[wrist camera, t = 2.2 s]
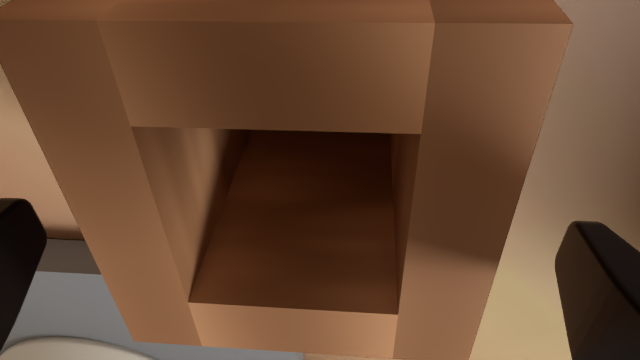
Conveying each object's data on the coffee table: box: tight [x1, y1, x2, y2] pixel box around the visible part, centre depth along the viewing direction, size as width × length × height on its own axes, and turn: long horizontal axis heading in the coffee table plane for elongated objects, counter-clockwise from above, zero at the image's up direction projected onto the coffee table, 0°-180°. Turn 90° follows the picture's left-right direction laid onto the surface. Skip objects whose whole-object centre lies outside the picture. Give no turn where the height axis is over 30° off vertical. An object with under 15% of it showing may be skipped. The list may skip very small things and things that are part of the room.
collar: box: [0, 0, 573, 360], centre depth 10 cm, size 7×7×6 cm
